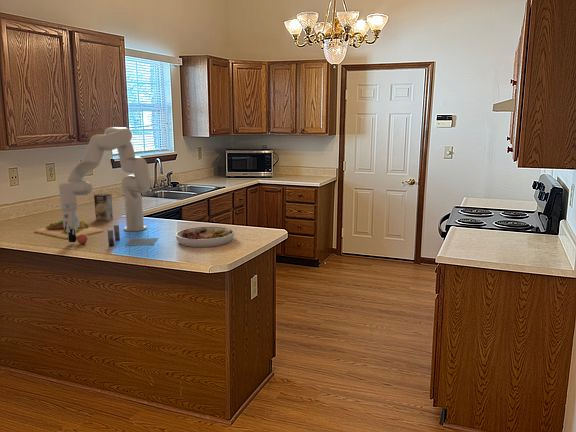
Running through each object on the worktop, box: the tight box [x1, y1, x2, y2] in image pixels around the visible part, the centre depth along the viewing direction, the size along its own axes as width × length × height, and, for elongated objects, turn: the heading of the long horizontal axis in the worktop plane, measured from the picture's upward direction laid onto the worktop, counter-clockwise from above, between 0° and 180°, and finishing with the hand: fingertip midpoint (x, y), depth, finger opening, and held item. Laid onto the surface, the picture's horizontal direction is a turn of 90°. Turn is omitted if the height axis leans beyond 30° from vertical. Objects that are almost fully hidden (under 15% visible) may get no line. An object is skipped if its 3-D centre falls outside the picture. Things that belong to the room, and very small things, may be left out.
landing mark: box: [125, 237, 159, 247], centre depth 258 cm, size 14×14×1 cm
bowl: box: [175, 225, 235, 248], centre depth 258 cm, size 30×30×8 cm
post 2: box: [113, 224, 121, 242], centre depth 262 cm, size 3×3×8 cm
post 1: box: [107, 229, 115, 247], centre depth 250 cm, size 3×3×8 cm
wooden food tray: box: [34, 219, 104, 239], centre depth 283 cm, size 35×23×8 cm
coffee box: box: [93, 193, 114, 221], centre depth 316 cm, size 9×6×16 cm
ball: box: [76, 234, 88, 245], centre depth 255 cm, size 5×5×5 cm
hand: (72, 241), depth 255 cm, fingers closed
